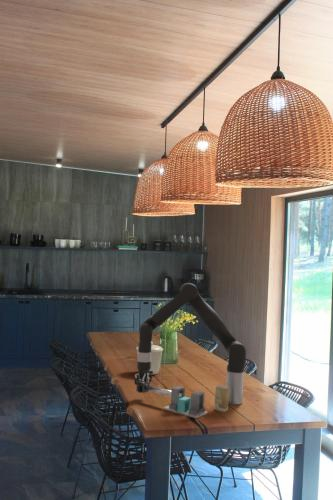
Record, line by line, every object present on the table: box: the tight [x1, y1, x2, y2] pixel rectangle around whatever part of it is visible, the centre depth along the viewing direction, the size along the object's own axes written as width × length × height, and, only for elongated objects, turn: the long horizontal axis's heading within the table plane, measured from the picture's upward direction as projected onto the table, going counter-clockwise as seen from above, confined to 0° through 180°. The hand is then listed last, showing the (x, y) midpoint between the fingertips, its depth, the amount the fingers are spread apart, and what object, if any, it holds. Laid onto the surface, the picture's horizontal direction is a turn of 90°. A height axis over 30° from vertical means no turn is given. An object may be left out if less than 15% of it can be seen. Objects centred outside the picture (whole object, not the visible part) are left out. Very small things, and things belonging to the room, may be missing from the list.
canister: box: [135, 341, 164, 376], centre depth 338 cm, size 18×18×21 cm
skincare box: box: [213, 384, 230, 413], centre depth 266 cm, size 6×4×12 cm
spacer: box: [177, 396, 191, 411], centre depth 260 cm, size 6×4×6 cm, turn 144°
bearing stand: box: [162, 385, 208, 419], centre depth 260 cm, size 11×20×11 cm, turn 54°
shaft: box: [135, 381, 182, 398], centre depth 270 cm, size 28×5×5 cm, turn 54°
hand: (142, 391), depth 277 cm, fingers closed on shaft, 5 cm apart
